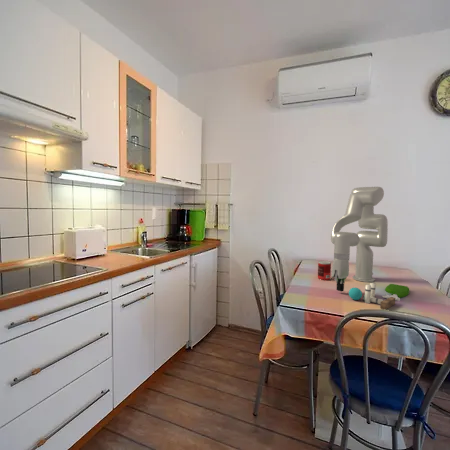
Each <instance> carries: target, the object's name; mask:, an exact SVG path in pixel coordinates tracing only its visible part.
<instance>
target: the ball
mask: <svg viewBox="0 0 450 450" xmlns="http://www.w3.org/2000/svg"><path fill="white" fill-rule="evenodd" d="M348 296H349V297H350V298H351V300H354V301H357V300H358V301H359V300H361V298H363V292H362V290H361V289H360V288H358V287H352V288H350V289H349V290H348Z"/></svg>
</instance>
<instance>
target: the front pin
mask: <svg viewBox="0 0 450 450" xmlns="http://www.w3.org/2000/svg"><path fill="white" fill-rule="evenodd" d="M362 299H363V301H365V294H364V295H362ZM384 300H385V299H381V298H378V297H375V298H374V297H371V299H370V303H374V304H377V305H381V302H382V301H384Z"/></svg>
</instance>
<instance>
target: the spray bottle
mask: <svg viewBox="0 0 450 450" xmlns="http://www.w3.org/2000/svg"><path fill="white" fill-rule="evenodd" d="M384 290H385V292H386V293H389V294H386V293H385V295H382V298H384V299H385V300H386V299H388V298H389V297H393V298H395V301H397V302H400V301H401V298H405V297H407V296H408V295H409V294H410V290H411V289H410V288H409V287H408V286H407V285H401V284H395V283H389V284H388V285H386V286H385V289H384Z"/></svg>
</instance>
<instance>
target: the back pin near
mask: <svg viewBox="0 0 450 450" xmlns="http://www.w3.org/2000/svg"><path fill="white" fill-rule="evenodd" d="M364 287H365V290H364V291H365V292H364V295H365V300H364V303H365V304H370V303H371V302H370V299H371V285H370V284H365V286H364Z"/></svg>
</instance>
